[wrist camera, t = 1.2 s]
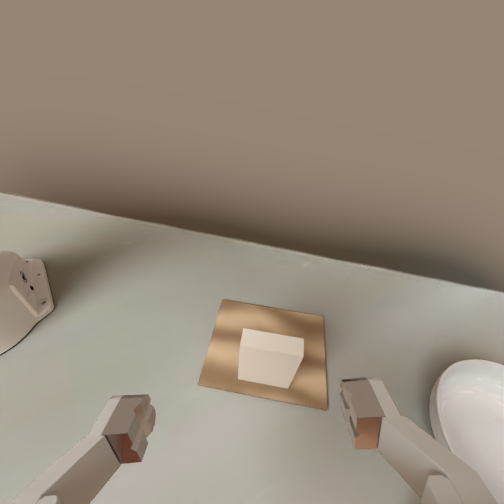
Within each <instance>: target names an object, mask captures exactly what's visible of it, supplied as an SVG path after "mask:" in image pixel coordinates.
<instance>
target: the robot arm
mask: <svg viewBox="0 0 504 504" xmlns="http://www.w3.org/2000/svg"><path fill="white" fill-rule="evenodd" d="M53 309H54V304H53V300H52V295H51V291H50V287H49V282H48V278H47V274H46V269H45V265H44V262H43V261H42V260H40V259H30V258H29V259H22V258H21V257H20V256H19V255H18V254H17V253H14V252H10V251H0V354H2V353H3V352H5V351H7V350H8V349H10V348H11V347H13V346H14V345H15V344H17V343H18V342H19V341H20V340H21V339H22V338H23V337H24V336H25V335H26V334H27V333H28V332H29V331H30V330H31V329H32V328H33V326H34V325H35V324H36V323H37V322H38V321H40V320H41V319H43V318H44V317H45V316H47V315H48V314H49V313H50V312H51V311H52V310H53ZM340 386H341V389H342V392H341V393H340V402H341V408H342V412H343V415H344V418H345V420H346V421H347V422H348V423H349V434H350V437H351V440H352V443H353V446H354V449H378V451H379V452H380V453H381V454H382V455H383V457H384V458H385V459H386V460H387V461H388V462H389V463H390V464H391V465H392V466H393V468H394V469H395V470H396V471H397V472H398V473H399V474H400V475H401V476H402V478H403V479H404V480H405V481H406V482H407V483H408V484H409V485H410V486H411V487H412V489H413V490H414V491H415V492H416V493H417V494H418V495H419V496H420V497H421V499H422V500H421V504H498V503H497V501H496V500H495V498H494V497H493V496H492V494H491V493H490V491H489V490H488V488H487V487H486V485H485V484H484V482H483V481H482V479H481V478H480V476H479V475H478V473H477V472H476V471H475V470H474V469H472V468H471V467H470V466H468V465H467V464H466V463H465V462H463V461H462V460H461V459H459V458H458V457H457V456H456V455H454V454H453V453H452V452H451V451H449V450H448V449H447V448H445V447H444V446H443V445H442V444H440V443H439V442H438V441H437V440H435V439H434V438H433V437H431V436H430V435H429V434H428V433H426V432H425V431H424V430H423V429H421V428H420V427H419V426H417V425H416V424H415V423H414V422H412V421H411V420H410V419H408V418H407V417H406V416H401V415H400V413H399V411H398V409H397V407H396V405H395V404H394V402H393V400H392V398H391V396H390V394H389V392H388V391H387V389H386V387H385V385H384V383H383V381H382V379H381V378H380V377H369V378H365V377H364V378H353V379H342V380H341V384H340ZM150 400H151V399H150V397H149V395H148V394H145V395H123V396H112V397H111V398H110V399H109V400H108V402H107V403H106V405H105V407H104V409H103V411H102V412H101V414H100V416H99V418H98V419H97V421H96V423H95V425H94V426H93V428H92V430H91V432H90V434H89V435H88V436H87V437H84V438H82V439H81V440H80V441H79V442H78V443H77V444H76V445H74V446H73V447H72V448H71V449H70V450H69V451H67V452H66V453H65V454H64V455H63V456H62V457H61V458H59V459H58V460H57V461H56V462H55V463H54V464H53V465H51V466H50V467H49V468H48V469H47V470H46V471H45V472H43V473H42V474H41V475H40V476H39V477H38V478H37V479H35V480H34V481H33V482H32V483H31V484H30V485H29V486H27V487H26V488H25V489H24V490H23V491H22V492H21V493H19V494H18V495H17V496H16V498H15V499H14V501H13V502H12V504H90V502H91V501H92V500H93V499H94V498H95V496H96V495H97V494H98V493H99V491H100V490H101V489H102V488H103V486H104V485H105V484H106V483H107V482H108V480H109V479H110V478H111V477H112V475H113V474H114V473H115V472H116V470H117V469H118V468H119V467H120V466H121V465H120V464H124V463H135V462H142V459H143V456H144V453H145V451H146V448H147V445H148V441H147V437H148V436H149V435H150V433H151V432H152V431H153V428H154V425H155V418H156V414H155V409H154V407H153V406H152V405H150V404H149V403H150Z"/></svg>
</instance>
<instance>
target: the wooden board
mask: <svg viewBox="0 0 504 504" xmlns="http://www.w3.org/2000/svg"><path fill="white" fill-rule="evenodd" d="M243 328H246V329H251V330H257V331H263V332H268V333H274V334H280V335H285V336H291V337H297V338H302V339H304V357H303V359H302V361H301V363H300V365H299V367H298V369H297V371H296V373H295V375H294V378H293V380H292V382H291V384H290V386H289V388H288V389H287V388H282V387H276V386H271V385H266V384H261V383H255V382H250V381H245V380H240V379H238V369H239V351H240V342H241V337H242V332H243ZM198 385H199V386H204V387H209V388H214V389H219V390H225V391H230V392H235V393H240V394H245V395H250V396H255V397H260V398H266V399H271V400H276V401H281V402H286V403H291V404H296V405H302V406H307V407H312V408H317V409H322V410H327V389H326V367H325V345H324V323H323V316H317V315H311V314H305V313H299V312H293V311H287V310H281V309H276V308H270V307H264V306H258V305H252V304H246V303H240V302H234V301H228V300H222V303H221V306H220V310H219V313H218V316H217V320H216V323H215V327H214V330H213V334H212V337H211V341H210V344H209V348H208V351H207V354H206V358H205V361H204V365H203V368H202V372H201V375H200V379H199V382H198Z"/></svg>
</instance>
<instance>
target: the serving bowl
mask: <svg viewBox="0 0 504 504" xmlns="http://www.w3.org/2000/svg"><path fill="white" fill-rule="evenodd" d="M429 413H430V422H431V427H432V431H433V435H434V438H435V440H437V441H438V442H439V443H440V444H442V445H443V446H444V447H445V448H447V449H448V450H449V451H451V452H452V453H453V454H454V455H456V456H457V457H458V458H459V459H461V460H462V461H463V462H465V463H466V464H467V465H468V466H470V467H471V468H472V469H474V470H475V471H476V472H477V473H478V475H479V476H480V478H481V479H482V481H483V482H484V484H485V485H486V487H487V488H488V490H489V491H490V493H491V494H492V496H493V497H494V498H495V500H496V501H497V503H498V504H504V365H503V364H499V363H496V362H492V361H488V360H481V359H468V360H461V361H458V362H456V363H454V364H452V365H450V366H449V367H448V368H446V369H445V370H444V371H443V373H442V374H441V375H440V376H439V377H438V379H437V380H436V382H435V384H434V386H433V389H432V392H431V396H430V403H429Z"/></svg>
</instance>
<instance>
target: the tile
mask: <svg viewBox="0 0 504 504" xmlns="http://www.w3.org/2000/svg"><path fill="white" fill-rule="evenodd" d="M303 357H304V339H302V338H297V337H291V336H285V335H280V334H274V333H268V332H263V331H257V330H251V329H246V328H243V332H242V337H241V342H240V351H239V369H238V379H240V380H245V381H250V382H255V383H261V384H266V385H271V386H276V387H282V388H287V389H288V388H289V386H290V384H291V382H292V380H293V378H294V375H295V373H296V371H297V369H298V367H299V365H300V363H301V361H302V359H303Z"/></svg>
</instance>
